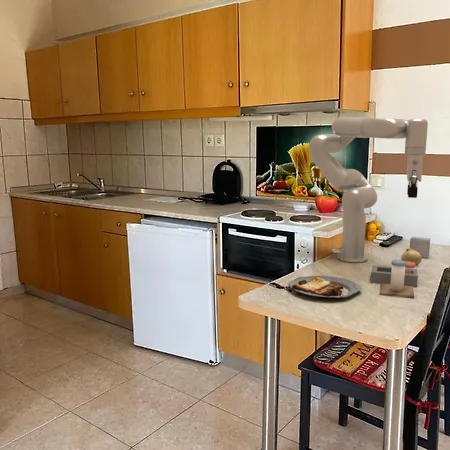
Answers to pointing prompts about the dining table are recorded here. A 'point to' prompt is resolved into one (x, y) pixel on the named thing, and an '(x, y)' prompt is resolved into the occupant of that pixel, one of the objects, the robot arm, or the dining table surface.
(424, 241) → the medicine box
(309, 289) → the food plate
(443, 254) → the dining table surface
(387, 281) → the housing
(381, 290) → the pad
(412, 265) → the red round-topped peg
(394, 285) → the cylinder
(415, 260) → the onion
